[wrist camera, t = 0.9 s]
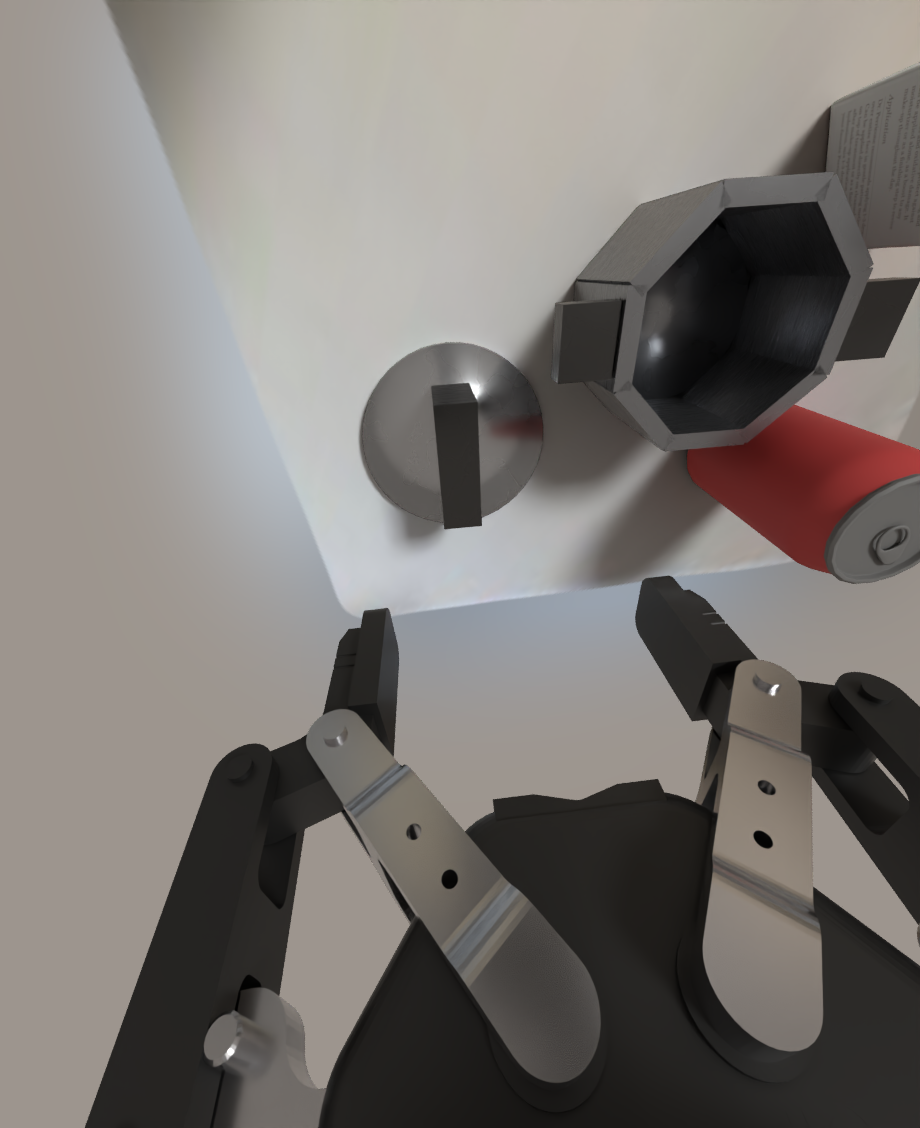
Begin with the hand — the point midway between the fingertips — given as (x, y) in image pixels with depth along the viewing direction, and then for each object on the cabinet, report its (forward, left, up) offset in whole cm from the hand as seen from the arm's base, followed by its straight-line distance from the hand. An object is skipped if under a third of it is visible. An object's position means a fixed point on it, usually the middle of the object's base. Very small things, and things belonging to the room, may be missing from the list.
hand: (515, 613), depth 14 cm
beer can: (+2, +18, -17) cm, 24 cm away
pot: (-6, +11, -16) cm, 21 cm away
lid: (0, -1, -17) cm, 17 cm away
